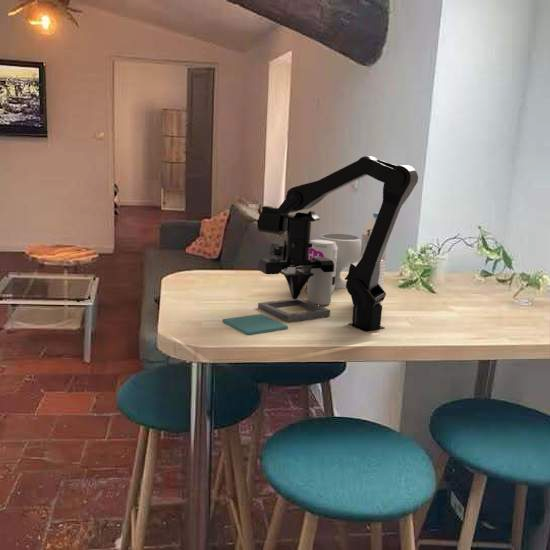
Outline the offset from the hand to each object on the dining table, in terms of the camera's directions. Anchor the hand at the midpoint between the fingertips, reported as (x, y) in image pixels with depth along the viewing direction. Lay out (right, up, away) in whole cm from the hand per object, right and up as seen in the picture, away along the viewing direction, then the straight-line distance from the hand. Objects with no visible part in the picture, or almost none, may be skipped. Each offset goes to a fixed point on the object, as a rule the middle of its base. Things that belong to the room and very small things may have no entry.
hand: (294, 299), depth 157 cm
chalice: (+14, +3, +33) cm, 35 cm away
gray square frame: (0, -3, +1) cm, 4 cm away
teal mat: (-10, -6, -12) cm, 16 cm away
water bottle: (+20, -2, +12) cm, 23 cm away
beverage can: (+7, -2, +10) cm, 13 cm away
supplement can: (+8, +1, +22) cm, 23 cm away
